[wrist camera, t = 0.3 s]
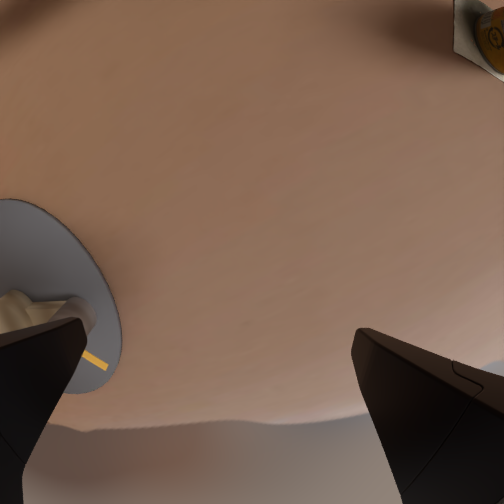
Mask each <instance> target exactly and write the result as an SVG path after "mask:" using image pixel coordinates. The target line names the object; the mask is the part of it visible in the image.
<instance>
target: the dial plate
mask: <svg viewBox="0 0 504 504" xmlns="http://www.w3.org/2000/svg"><path fill="white" fill-rule="evenodd" d="M10 290H18V291H21V292H22V293H24V294H25V295H27V296H28V297H29V298H30V299H31V301H32V302H48V301H67V300H68V299H69V298H72V297H79V298H82V299H84V300H86V301H87V302H88V303H89V304H90V305H91V306H92V307H93V309H94V311H95V313H96V317H97V322H96V325H95V326H94V327H93V329H92V330H91V332H90V333H89V334H88V336H87V346H86V348H85V350H84V352H83V355H82V357H81V359H80V361H79V364H78V366H77V368H76V370H75V373H74V375H73V376H72V378H71V380H70V382H69V384H68V385H67V387H66V389H65V391H64V392H63V393H68V394H81V393H87V392H91V391H94V390H96V389H98V388H100V387H101V386H103V385H104V384H105V383H106V382H107V381H108V380H109V379H110V377H111V376H112V375H113V373H114V371H115V369H116V367H117V365H118V363H119V359H120V355H121V350H122V331H121V324H120V319H119V314H118V310H117V307H116V304H115V301H114V298H113V296H112V293H111V291H110V289H109V286H108V284H107V282H106V280H105V278H104V276H103V274H102V273H101V271H100V269H99V267H98V266H97V264H96V263H95V261H94V260H93V258H92V256H91V255H90V253H89V252H88V251H87V250H86V248H85V247H84V246H83V245H82V243H81V242H80V241H79V239H78V238H77V237H76V236H75V235H74V234H73V233H72V232H71V231H70V230H69V229H68V228H67V227H66V226H65V225H64V224H62V223H61V222H60V221H59V220H58V219H57V218H56V217H54V216H53V215H51V214H50V213H48V212H47V211H45V210H44V209H42V208H40V207H38V206H36V205H34V204H32V203H29V202H26V201H22V200H17V199H0V298H1V297H3V296H4V295H5V294H6V293H7V292H9V291H10Z"/></svg>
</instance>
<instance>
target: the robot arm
mask: <svg viewBox="0 0 504 504" xmlns="http://www.w3.org/2000/svg"><path fill="white" fill-rule="evenodd" d="M86 346H87V335H86V332H85V329H84V325H83V322H82V320H81V319H80V318H78V317H67V318H63V319H59V320H55V321H51V322H47V323H43V324H39V325H35V326H31V327H27V328H23V329H19V330H15V331H11V332H6V333H2V334H0V504H23V489H22V475H23V471H24V468H25V464H26V463H27V461H28V459H29V457H30V455H31V453H32V451H33V449H34V447H35V445H36V443H37V441H38V439H39V437H40V435H41V433H42V431H43V429H44V427H45V425H46V423H47V421H48V420H49V418H50V416H51V414H52V412H53V410H54V409H55V407H56V405H57V403H58V401H59V399H60V398H61V396H62V394H63V392H64V391H65V389H66V387H67V385H68V384H69V382H70V380H71V378H72V376H73V375H74V373H75V370H76V368H77V366H78V364H79V361H80V359H81V357H82V355H83V352H84V350H85V348H86ZM351 356H352V360H353V364H354V368H355V372H356V376H357V380H358V384H359V387H360V390H361V393H362V396H363V398H364V401H365V403H366V406H367V408H368V411H369V413H370V416H371V418H372V421H373V423H374V426H375V428H376V431H377V434H378V436H379V439H380V441H381V444H382V447H383V449H384V452H385V454H386V457H387V460H388V463H389V465H390V468H391V471H392V473H393V476H394V479H395V482H396V484H397V487H398V490H399V493H400V495H401V499H402V503H403V504H504V377H503V376H500V375H496V374H493V373H490V372H486V371H483V370H480V369H477V368H474V367H471V366H468V365H465V364H462V363H460V362H457V361H454V360H453V361H451V360H450V359H448V358H445V357H442V356H440V355H437V354H435V353H432V352H429V351H427V350H424V349H422V348H419V347H416V346H414V345H411V344H409V343H406V342H403V341H401V340H398V339H396V338H393V337H391V336H388V335H386V334H383V333H381V332H378V331H376V330H373V329H371V328H358V329H357V330H356V332H355V336H354V341H353V345H352V349H351Z"/></svg>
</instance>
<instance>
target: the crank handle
mask: <svg viewBox="0 0 504 504" xmlns="http://www.w3.org/2000/svg"><path fill="white" fill-rule="evenodd" d="M67 317H78V318H80V319H81V320H82V322H83V325H84V329H85V332H86V335H87V336H88V334H89V333H90V332H91V330H92V329H93V327H94V326H95V325H96V322H97V317H96V313H95V311H94V309H93V307H92V306H91V305H90V304H89V303H88V302H87V301H86V300H84V299H82V298H79V297H72V298H69V299H68V300H67V301H48V302H32V301H31V299H30V298H29V297H28V296H27V295H25V294H24V293H22V292H21V291H18V290H10V291H9V292H7V293H6V294H5V295H4V296H3V297H1V298H0V334H2V333H6V332H11V331H15V330H19V329H23V328H27V327H31V326H35V325H39V324H43V323H47V322H51V321H55V320H59V319H63V318H67Z"/></svg>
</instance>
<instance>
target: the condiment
mask: <svg viewBox="0 0 504 504" xmlns="http://www.w3.org/2000/svg"><path fill="white" fill-rule="evenodd" d="M454 10H455V12H454V14H455V19H454V52H456V53H458V54H460V55H462V56H464V57H465V58H467V59H469V60H471V61H473V62H474V63H476V64H477V65H479V66H481V67H482V68H483V69H485V70H487V71H488V72H489V73H491V74H492V75H494V76H495V77H497V78H498V79H500V80H501V81H503V82H504V7H501V8H498V9H496V10H492V9H491V8H489V7H488V6H487V5H486V4H484V3H482V2H481V1H479V0H455V9H454ZM480 12H481V13H480ZM471 39H472V41H473V42H472V41H471ZM474 43H475V45H476V46H474Z"/></svg>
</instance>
